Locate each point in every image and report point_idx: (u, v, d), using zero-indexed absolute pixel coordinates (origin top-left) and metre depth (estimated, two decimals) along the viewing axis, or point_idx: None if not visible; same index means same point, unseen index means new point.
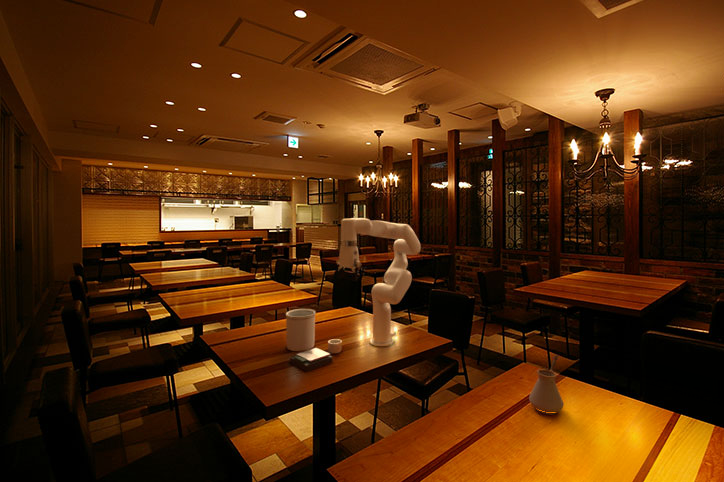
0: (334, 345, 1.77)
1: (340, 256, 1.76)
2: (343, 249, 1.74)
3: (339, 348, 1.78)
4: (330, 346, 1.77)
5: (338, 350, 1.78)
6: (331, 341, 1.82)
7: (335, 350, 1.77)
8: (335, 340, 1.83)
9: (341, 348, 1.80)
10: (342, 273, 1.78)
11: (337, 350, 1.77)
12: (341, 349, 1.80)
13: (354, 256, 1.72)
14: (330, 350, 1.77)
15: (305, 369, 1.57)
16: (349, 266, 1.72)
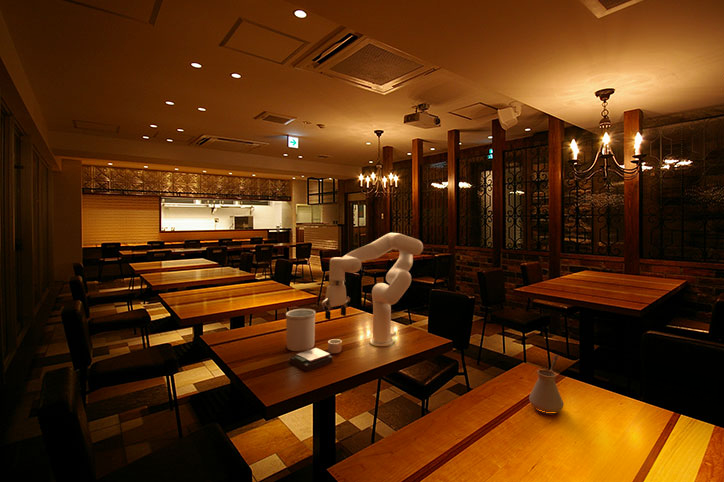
0: (334, 345, 1.77)
1: (333, 296, 1.75)
2: (338, 288, 1.77)
3: (339, 348, 1.78)
4: (330, 346, 1.77)
5: (338, 350, 1.78)
6: (331, 341, 1.82)
7: (335, 350, 1.77)
8: (335, 340, 1.83)
9: (341, 348, 1.80)
10: None
11: (337, 350, 1.77)
12: (341, 349, 1.80)
13: None
14: (330, 350, 1.77)
15: (305, 369, 1.57)
16: (343, 303, 1.80)
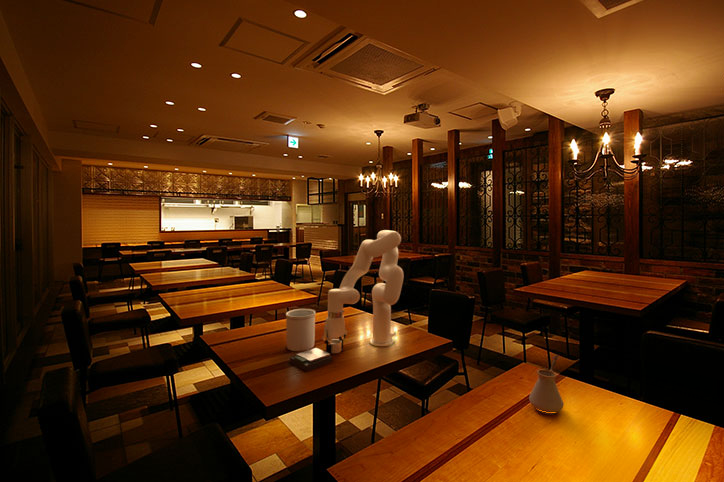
0: (334, 345, 1.77)
1: (332, 329, 1.76)
2: (337, 320, 1.78)
3: (339, 348, 1.78)
4: None
5: (338, 350, 1.78)
6: (331, 341, 1.82)
7: (335, 350, 1.77)
8: (335, 340, 1.83)
9: (341, 348, 1.80)
10: None
11: (337, 350, 1.77)
12: (341, 349, 1.80)
13: None
14: None
15: (305, 369, 1.57)
16: (342, 334, 1.81)
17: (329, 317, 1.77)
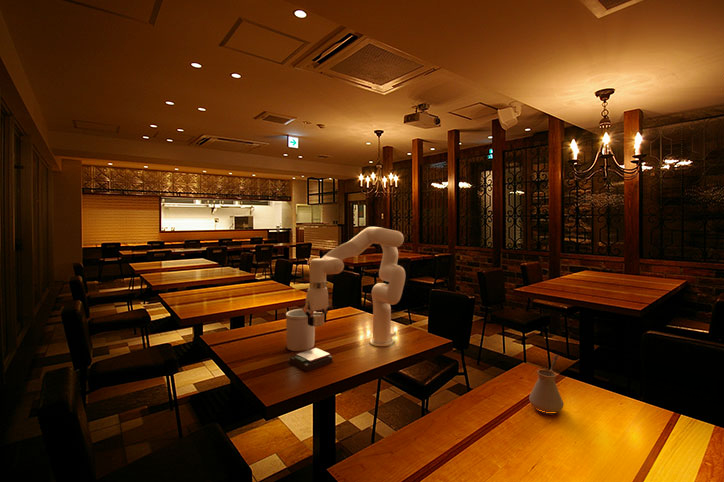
0: (316, 317, 1.66)
1: (314, 300, 1.65)
2: (319, 291, 1.67)
3: (321, 321, 1.67)
4: None
5: (320, 323, 1.66)
6: (313, 314, 1.71)
7: (317, 323, 1.66)
8: (318, 313, 1.72)
9: None
10: None
11: (319, 323, 1.66)
12: None
13: None
14: None
15: (305, 369, 1.57)
16: (325, 307, 1.70)
17: (311, 288, 1.66)
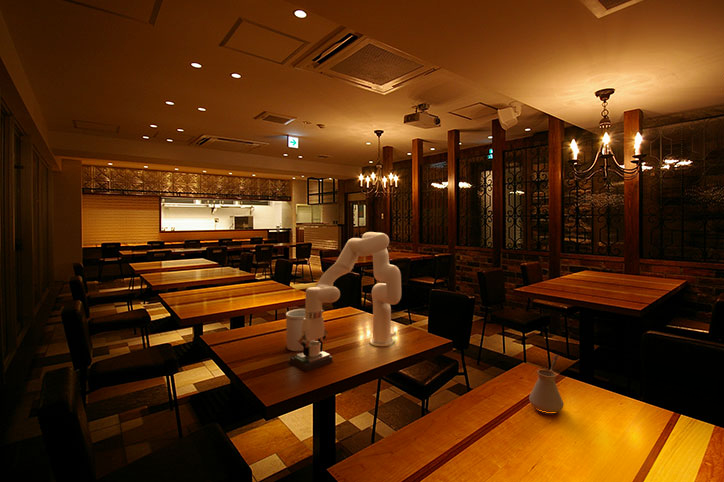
0: (312, 348, 1.64)
1: (310, 330, 1.63)
2: (315, 321, 1.65)
3: (317, 351, 1.65)
4: None
5: (316, 353, 1.64)
6: (309, 343, 1.69)
7: (313, 353, 1.64)
8: (314, 342, 1.70)
9: None
10: None
11: (315, 353, 1.64)
12: None
13: None
14: None
15: (305, 369, 1.57)
16: (321, 336, 1.68)
17: (306, 317, 1.64)
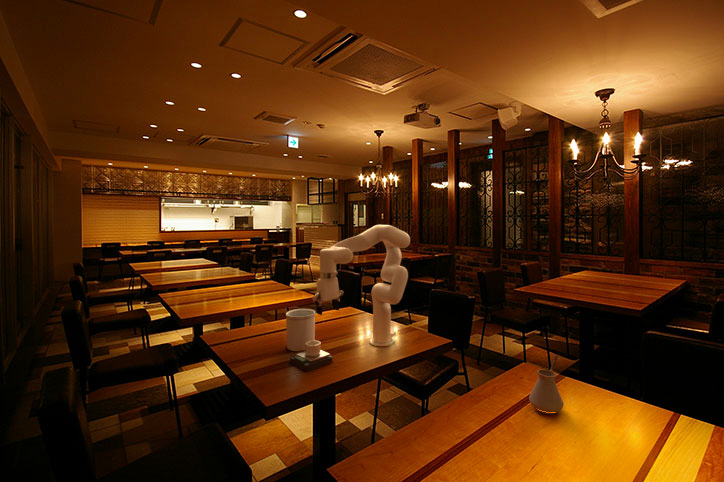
0: (312, 347, 1.64)
1: (324, 290, 1.65)
2: (330, 281, 1.67)
3: (317, 350, 1.65)
4: (307, 348, 1.64)
5: (316, 353, 1.64)
6: (309, 343, 1.69)
7: (313, 353, 1.64)
8: (314, 342, 1.70)
9: None
10: None
11: (315, 353, 1.64)
12: None
13: None
14: (307, 353, 1.64)
15: (305, 369, 1.57)
16: (336, 297, 1.70)
17: (321, 278, 1.66)
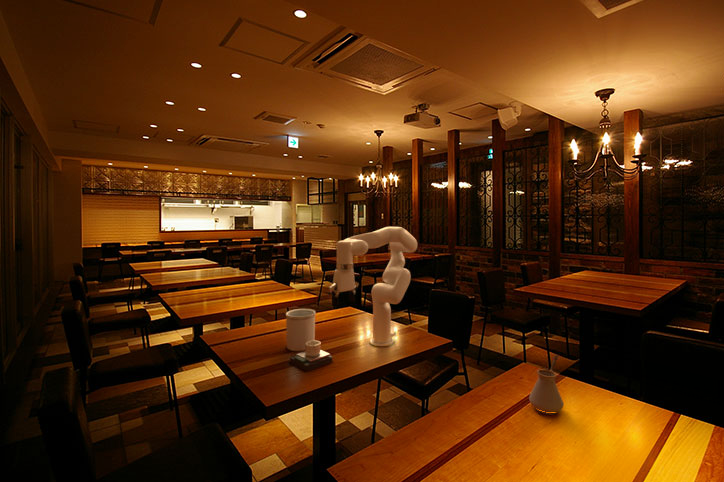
0: (312, 347, 1.64)
1: (341, 281, 1.67)
2: (346, 273, 1.69)
3: (317, 350, 1.65)
4: (307, 348, 1.64)
5: (316, 353, 1.64)
6: (309, 343, 1.69)
7: (313, 353, 1.64)
8: (314, 342, 1.70)
9: None
10: None
11: (315, 353, 1.64)
12: None
13: None
14: (307, 353, 1.64)
15: (305, 369, 1.57)
16: (352, 288, 1.72)
17: (338, 269, 1.68)
